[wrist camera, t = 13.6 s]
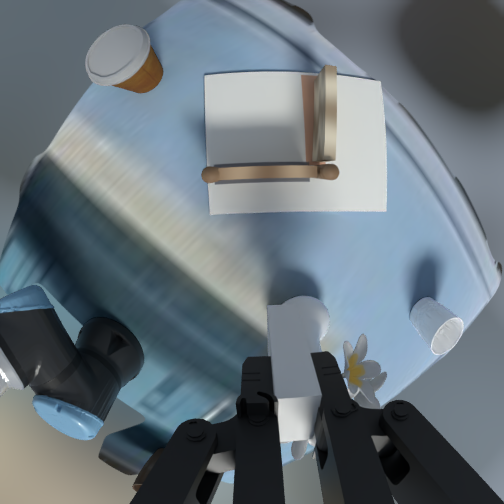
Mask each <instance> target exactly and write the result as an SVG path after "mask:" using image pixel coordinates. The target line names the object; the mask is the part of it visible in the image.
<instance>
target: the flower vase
mask: <svg viewBox="0 0 504 504" xmlns="http://www.w3.org/2000/svg"><path fill="white" fill-rule="evenodd" d="M287 304H296V306H297V309H298V313H299V316H300V319H301V323H302V326H303V330H304V333H305V336H306V340H307V343H308V347H309V350H310V353H315V352H322V350H321V346H320V341H321V340H322V339H323V338H324V336H325V335H326V333H327V331H328V328H329V325H330V315H329V312H328V309H327V308H326V306H325V305H324V303H322V302H321V301H320V300H318V299H317V298H314V297H311V296H296V297H293V298H291V299H289V300H287V301H286V302H284V303H283V304H282V305H287ZM343 349H344V357H345V369H344V373H342V377H343V378H346V379H347V381H348V388H349V389H347V390H348V392H349V395H350V397H351V399H352V398H353V397H354V400H355V401H356V402H357V403H358V404H359V406H361V407H364V408H370V409H380V404H379V401H378V399H377V398H376V397H375V393H374V392H376V391H378V390H379V389H380V388H381V387H382V385H383V384H384V382H385V380H386V377H387V373H386V372H382V373H381V374H380V372H381V367H380V365H379V364H378V363H377V362H376V361H373V360H367V361H363V362H361V361H362V360H363V359H364V358H365V356H366V353H367V339H366V336H365V335H364V334H362V335H361V336H360V337H359V340H358V342H357V345H356V347H355V349H354V351H353V348H352V346H351V344H350V343H349V342H348V341H344V345H343ZM372 378H374V379H372ZM363 379H364V380H363ZM371 379H372V380H371ZM288 442H291V441H287V442H280V443H288ZM308 442H309V444H311V445H312V446H315V444H316V439H315V434H314V436H313V439H308V440H298V441H293V443H292V447H291V452H292V456H293V458H294V459H296V460H299V459H301V458H302V457H303V456H304V454H305V452H306V448H307V443H308Z"/></svg>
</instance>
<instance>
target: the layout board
mask: <svg viewBox="0 0 504 504" xmlns="http://www.w3.org/2000/svg"><path fill="white" fill-rule="evenodd" d="M318 74H319V73H305V72H240V73H225V74H214V75H205V125H206V152H207V167H209V166H212V167H219V168H228V167H248V166H290V165H305V166H314V165H322V164H335V165H336V166H337V167H338V169H339V176H338V178H337V179H335V180H325V179H316V178H258V179H234V180H222V181H218V182H214V183H208V192H209V208H210V215H219V214H240V213H268V212H312V211H379V212H386V203H387V151H386V131H385V117H384V106H383V97H382V89H381V82H380V81H375V80H369V79H363V78H356V77H349V76H341V75H337V135H336V160H335V161H329V162H313V161H312V152H313V125H314V80H315V79H316V77H317V76H318Z"/></svg>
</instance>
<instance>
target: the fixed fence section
mask: <svg viewBox="0 0 504 504" xmlns="http://www.w3.org/2000/svg"><path fill="white" fill-rule="evenodd" d="M201 176H202V179H203V180H204V181H205V182H206V183H214V182H218V181H222V180H234V179H258V178H316V179H325V180H335V179H337V178H338V176H339V169H338V167H337V166H336V165H335V164H322V165H314V166H305V165H290V166H248V167H228V168H219V167H212V166H209V167H206V168H204V169H203V171H202V174H201Z"/></svg>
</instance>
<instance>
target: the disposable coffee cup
mask: <svg viewBox="0 0 504 504" xmlns="http://www.w3.org/2000/svg"><path fill="white" fill-rule="evenodd" d="M85 67H86V71H87V73H88V75H89V78H90V79H91V80H92V81H93V82H94V83H96V84H98V85H101V86H110V85H111V86H115V87H119V88H123V89H126V90H130V91H133V92H136V93H145V92H148V91H150V90H152V89H154V88H155V87H156V86H157V85H158V84H159V82H160V81H161V79H162V76H163V68H162V66H161V64H160V62H159V60H158V58H157V56H156V54H155V52H154V50H153V48H152V46H151V45H150V38H149V35H148V33H147V32H146V30H144V29H143V28H141V27H139V26H135V25H130V24H123V25H118V26H115V27H113V28H111V29H109V30H107V31H106V32H104V33H103V34H102V35H100V36H99V37H98V38H97V39H96V40H95V42H94V43H93V44H92V46H91V48H90V49H89V51H88V53H87V56H86V61H85Z"/></svg>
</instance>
